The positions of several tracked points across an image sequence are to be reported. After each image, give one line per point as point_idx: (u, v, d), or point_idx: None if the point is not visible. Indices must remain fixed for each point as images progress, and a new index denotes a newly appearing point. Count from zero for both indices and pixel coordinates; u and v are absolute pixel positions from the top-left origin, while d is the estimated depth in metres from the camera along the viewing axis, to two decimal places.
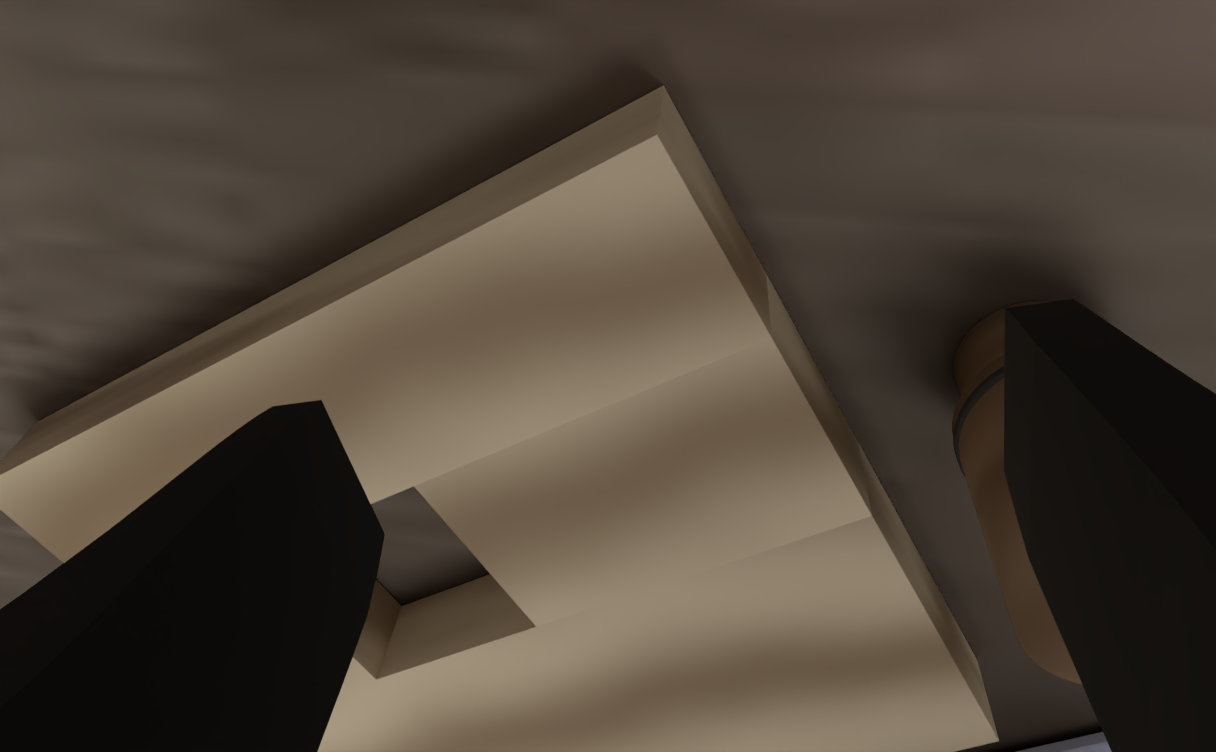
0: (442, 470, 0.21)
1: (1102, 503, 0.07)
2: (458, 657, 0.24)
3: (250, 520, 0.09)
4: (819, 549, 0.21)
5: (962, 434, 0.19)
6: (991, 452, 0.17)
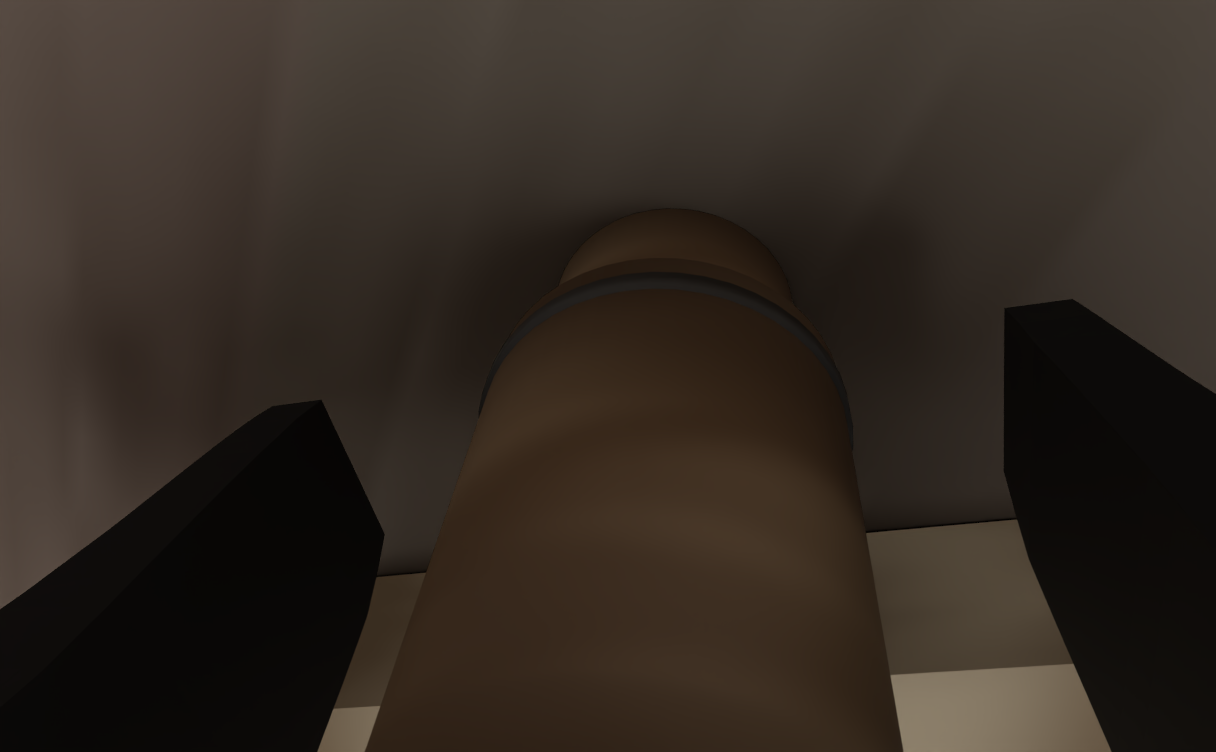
0: None
1: (1101, 503, 0.07)
2: None
3: (249, 519, 0.09)
4: None
5: None
6: None
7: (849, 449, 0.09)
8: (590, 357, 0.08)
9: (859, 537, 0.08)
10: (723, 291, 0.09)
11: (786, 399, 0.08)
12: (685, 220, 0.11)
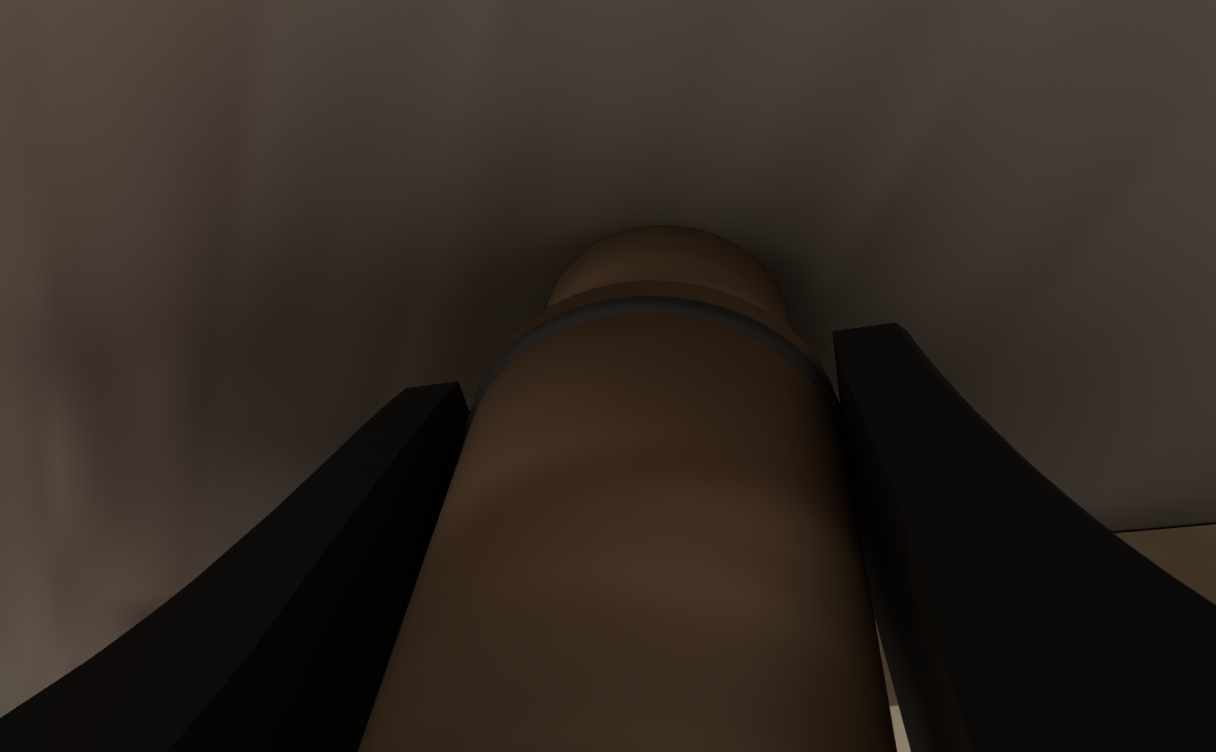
0: None
1: (882, 524, 0.07)
2: None
3: (407, 503, 0.09)
4: None
5: None
6: None
7: (849, 482, 0.09)
8: (577, 388, 0.08)
9: (860, 580, 0.07)
10: (717, 316, 0.09)
11: (782, 433, 0.08)
12: (679, 238, 0.11)
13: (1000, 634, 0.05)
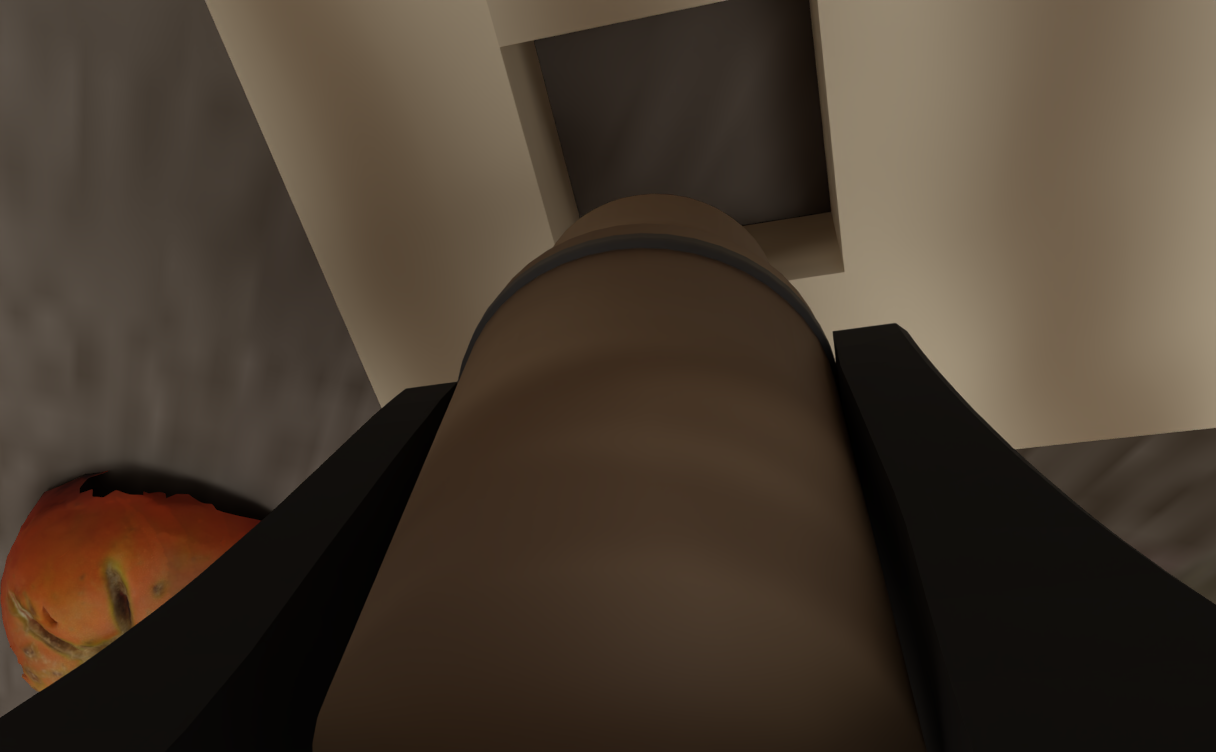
0: None
1: (882, 523, 0.07)
2: (839, 134, 0.16)
3: (405, 503, 0.09)
4: None
5: None
6: None
7: (843, 414, 0.09)
8: (578, 304, 0.08)
9: (858, 488, 0.07)
10: (714, 252, 0.09)
11: (780, 351, 0.08)
12: (672, 203, 0.11)
13: (1001, 634, 0.05)
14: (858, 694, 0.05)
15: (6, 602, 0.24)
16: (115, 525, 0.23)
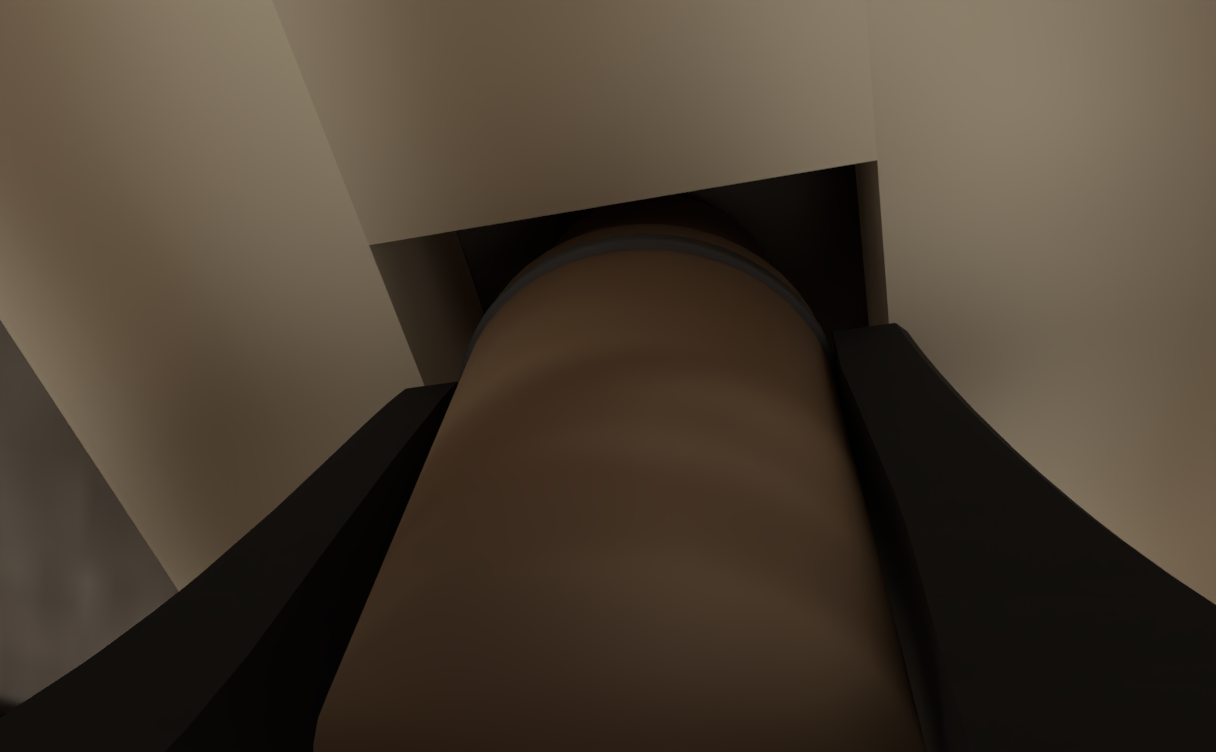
0: (329, 168, 0.09)
1: (882, 524, 0.07)
2: None
3: (407, 503, 0.09)
4: None
5: None
6: None
7: (843, 415, 0.09)
8: (578, 305, 0.08)
9: (858, 488, 0.07)
10: (714, 253, 0.09)
11: (781, 351, 0.08)
12: (672, 204, 0.11)
13: (1001, 634, 0.05)
14: (857, 696, 0.05)
15: None
16: None
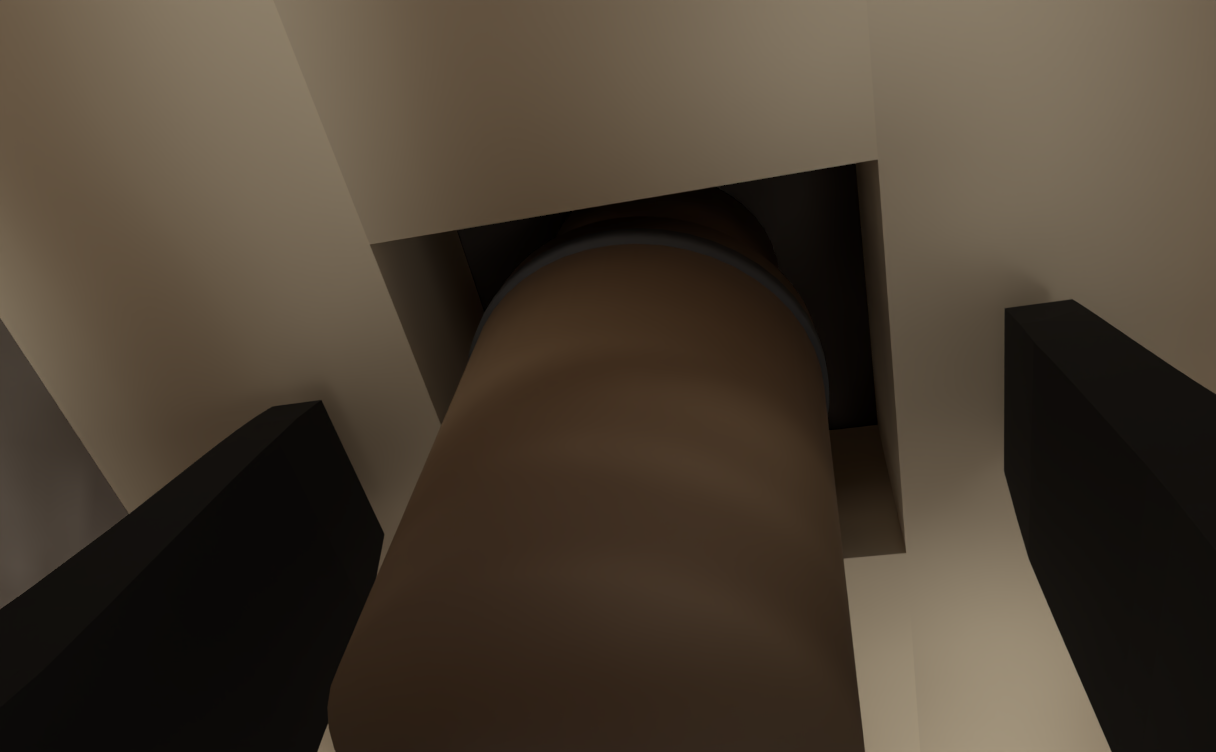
0: (330, 168, 0.09)
1: (1102, 503, 0.07)
2: (908, 376, 0.10)
3: (250, 520, 0.09)
4: None
5: None
6: None
7: (823, 404, 0.09)
8: (574, 303, 0.09)
9: (825, 481, 0.08)
10: (706, 248, 0.09)
11: (760, 349, 0.08)
12: None
13: None
14: (797, 684, 0.06)
15: None
16: None
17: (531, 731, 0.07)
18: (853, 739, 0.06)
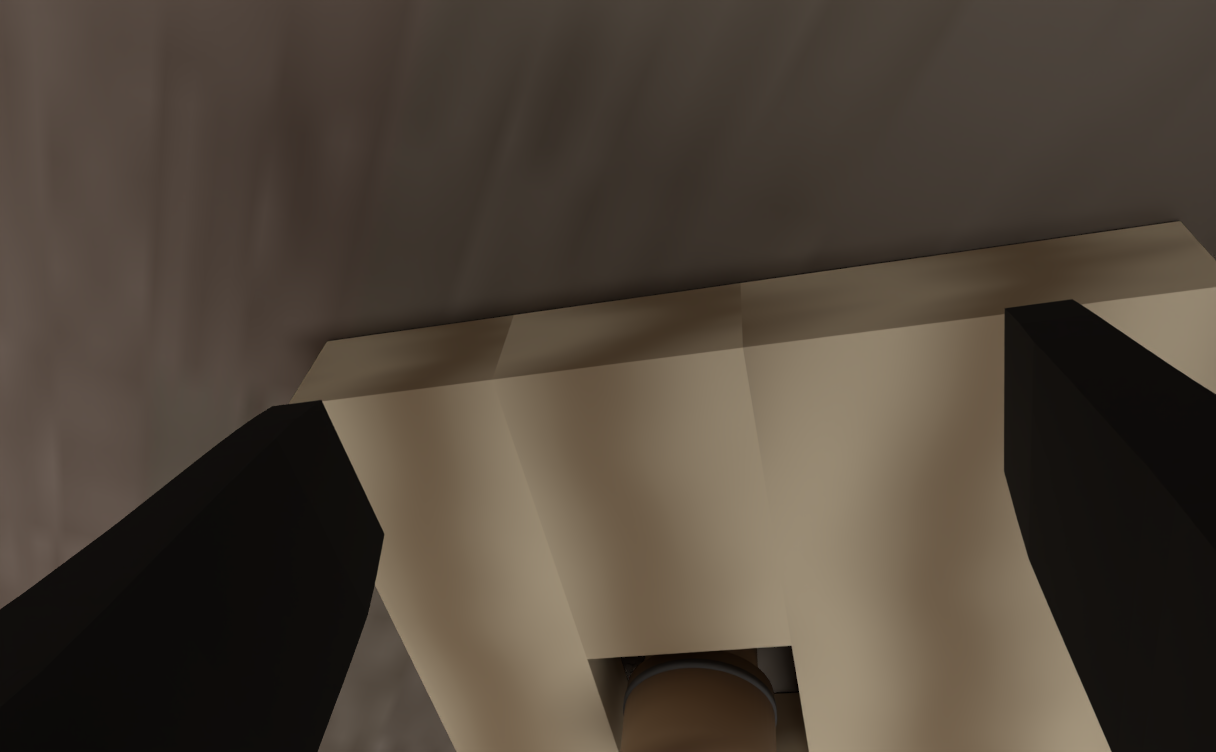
0: (575, 636, 0.23)
1: (1101, 503, 0.07)
2: (808, 710, 0.24)
3: (250, 520, 0.09)
4: (775, 403, 0.19)
5: None
6: None
7: (772, 732, 0.23)
8: (677, 705, 0.23)
9: None
10: (726, 669, 0.24)
11: (748, 724, 0.23)
12: None
13: None
14: None
15: None
16: None
17: None
18: None
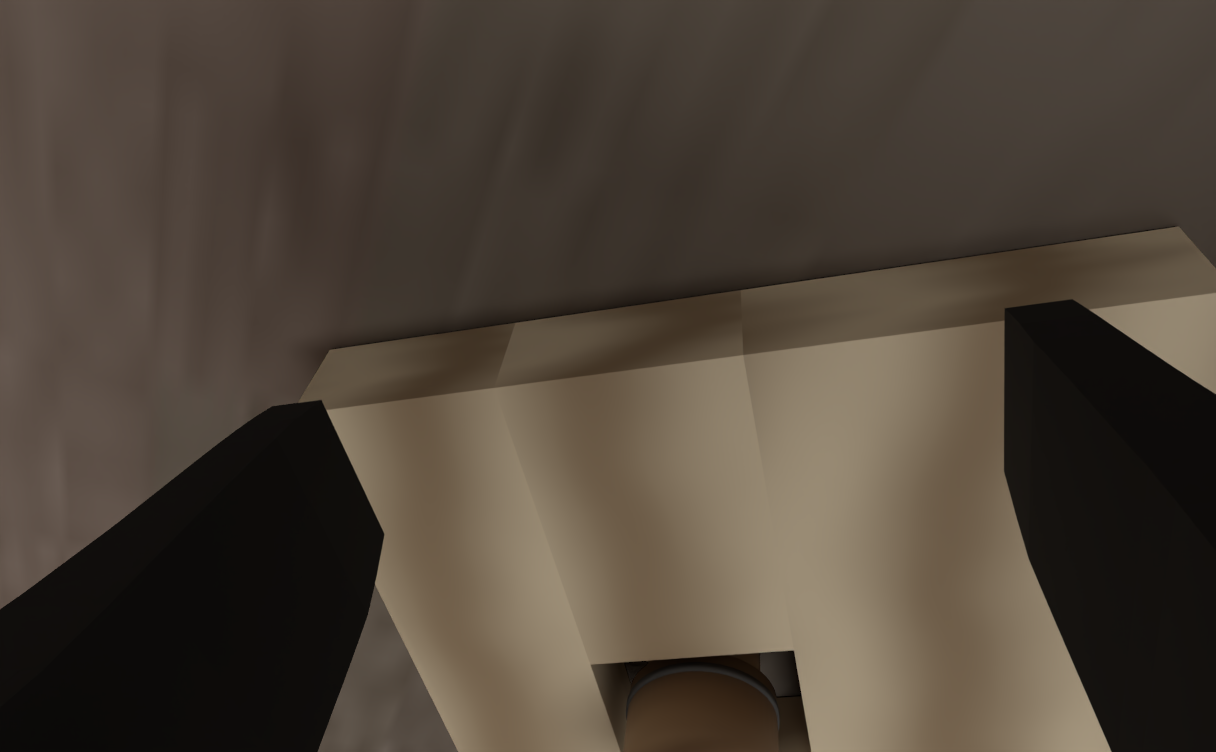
0: (578, 642, 0.24)
1: (1102, 503, 0.07)
2: (811, 714, 0.24)
3: (250, 520, 0.09)
4: (775, 410, 0.19)
5: None
6: None
7: (775, 735, 0.23)
8: (679, 708, 0.23)
9: None
10: (727, 672, 0.24)
11: (750, 727, 0.23)
12: None
13: None
14: None
15: None
16: None
17: None
18: None
